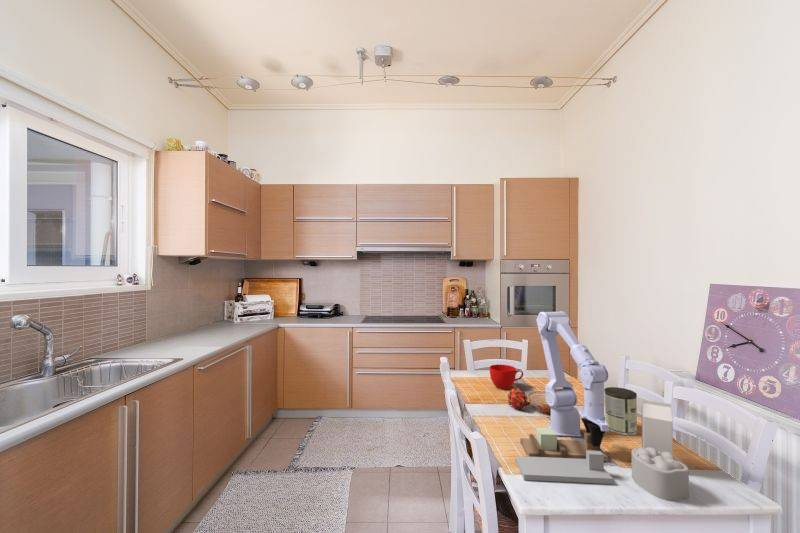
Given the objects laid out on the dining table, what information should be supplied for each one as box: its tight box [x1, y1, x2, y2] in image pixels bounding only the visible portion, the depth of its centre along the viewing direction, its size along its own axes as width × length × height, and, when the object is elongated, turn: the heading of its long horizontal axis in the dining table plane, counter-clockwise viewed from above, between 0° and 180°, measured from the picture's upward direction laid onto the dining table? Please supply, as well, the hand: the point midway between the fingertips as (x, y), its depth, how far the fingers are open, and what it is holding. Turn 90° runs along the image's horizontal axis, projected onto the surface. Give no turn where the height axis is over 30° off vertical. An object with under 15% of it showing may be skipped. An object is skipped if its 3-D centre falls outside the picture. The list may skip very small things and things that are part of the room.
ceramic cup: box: [489, 364, 524, 390], centre depth 178 cm, size 13×17×10 cm
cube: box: [535, 427, 558, 451], centre depth 114 cm, size 5×5×5 cm
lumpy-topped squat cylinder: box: [630, 446, 690, 502], centre depth 96 cm, size 10×13×9 cm
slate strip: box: [514, 451, 614, 485], centre depth 102 cm, size 24×10×6 cm, turn 85°
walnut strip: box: [519, 432, 609, 462], centre depth 114 cm, size 24×10×6 cm, turn 85°
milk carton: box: [641, 398, 674, 456], centre depth 107 cm, size 7×7×19 cm
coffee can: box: [604, 386, 638, 436], centre depth 131 cm, size 10×10×14 cm
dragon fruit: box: [507, 388, 531, 411], centre depth 151 cm, size 8×8×12 cm
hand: (594, 443), depth 113 cm, fingers closed on walnut strip, 2 cm apart
